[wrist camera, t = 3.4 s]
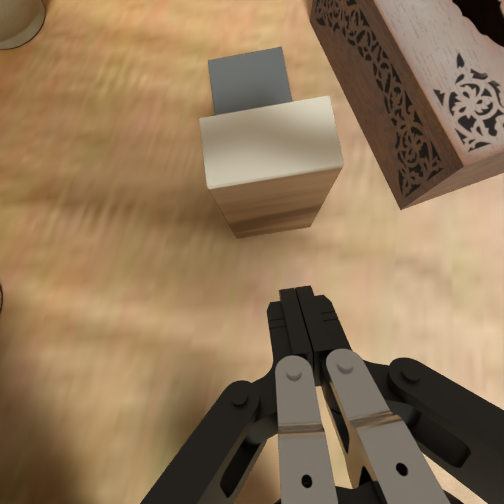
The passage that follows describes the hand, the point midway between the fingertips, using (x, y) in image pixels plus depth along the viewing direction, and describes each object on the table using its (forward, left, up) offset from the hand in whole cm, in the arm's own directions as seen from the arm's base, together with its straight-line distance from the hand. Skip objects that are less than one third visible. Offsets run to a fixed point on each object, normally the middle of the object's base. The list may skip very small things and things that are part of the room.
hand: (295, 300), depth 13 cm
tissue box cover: (+5, +28, -16) cm, 32 cm away
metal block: (-5, +8, -15) cm, 18 cm away
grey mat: (-11, +19, -15) cm, 26 cm away
